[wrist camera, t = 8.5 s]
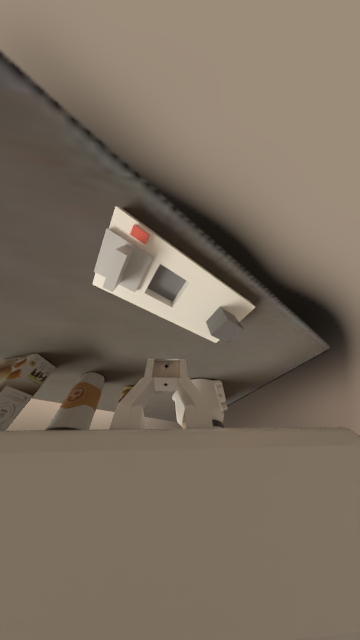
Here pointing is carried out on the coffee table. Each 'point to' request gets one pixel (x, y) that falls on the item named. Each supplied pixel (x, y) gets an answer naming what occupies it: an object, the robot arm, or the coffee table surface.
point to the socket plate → (174, 281)
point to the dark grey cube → (223, 325)
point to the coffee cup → (79, 404)
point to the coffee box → (20, 384)
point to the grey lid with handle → (121, 262)
